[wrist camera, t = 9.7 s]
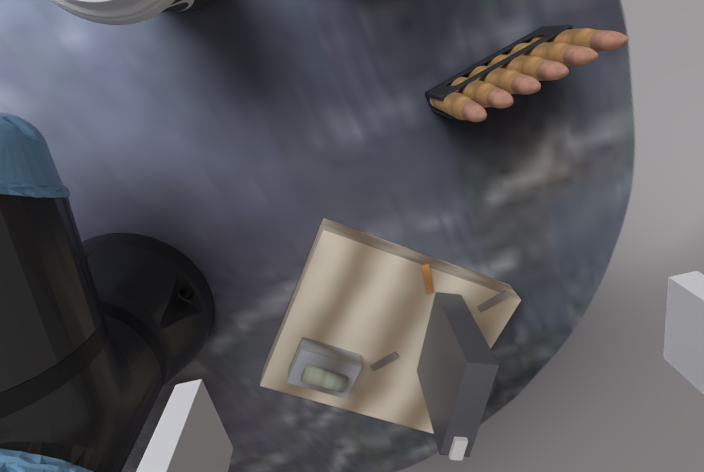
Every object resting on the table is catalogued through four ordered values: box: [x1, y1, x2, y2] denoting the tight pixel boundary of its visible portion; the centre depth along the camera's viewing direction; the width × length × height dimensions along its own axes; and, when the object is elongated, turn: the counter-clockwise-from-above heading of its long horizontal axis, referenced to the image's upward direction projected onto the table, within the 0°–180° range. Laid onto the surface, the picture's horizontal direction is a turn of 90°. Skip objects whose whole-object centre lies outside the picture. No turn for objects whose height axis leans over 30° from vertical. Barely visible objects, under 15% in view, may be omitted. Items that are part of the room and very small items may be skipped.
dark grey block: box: [417, 292, 499, 460], centre depth 38 cm, size 9×2×10 cm, turn 172°
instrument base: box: [260, 218, 521, 434], centre depth 43 cm, size 20×18×6 cm
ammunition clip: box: [425, 25, 628, 122], centre depth 32 cm, size 11×2×12 cm, turn 118°
